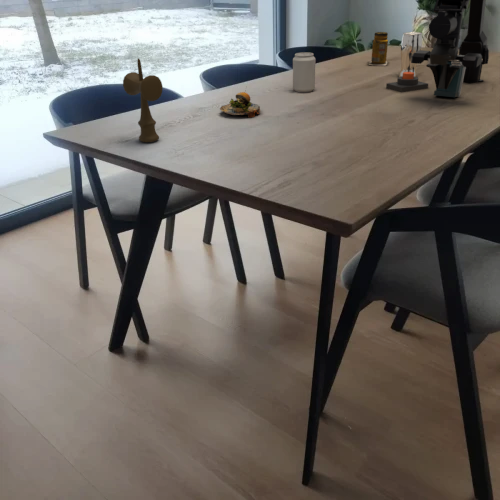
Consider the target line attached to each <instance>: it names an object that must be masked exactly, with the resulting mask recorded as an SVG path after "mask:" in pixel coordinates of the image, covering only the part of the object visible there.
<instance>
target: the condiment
mask: <svg viewBox="0 0 500 500" xmlns="http://www.w3.org/2000/svg"><path fill="white" fill-rule="evenodd" d="M388 45H389V40H388V32H386V31H375V32H374V36H373V40H372V49H371V60H370V61H369V62H368V66H387V65H388V61H387V56H388Z"/></svg>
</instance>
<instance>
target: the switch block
mask: <svg viewBox="0 0 500 500" xmlns="http://www.w3.org/2000/svg"><path fill="white" fill-rule="evenodd" d="M402 77H403V76H401V77H399V76H397V80H396V81H394V82H393V81H392V82H387V83H386V86H385V89H386V90H391V91H395V92H399V93H408V92H414V91H420V90H426V89H429V83H427V82H425V81H419V77H417V76H416V77H414V79H402Z"/></svg>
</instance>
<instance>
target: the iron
mask: <svg viewBox="0 0 500 500" xmlns="http://www.w3.org/2000/svg"><path fill="white" fill-rule="evenodd" d="M457 56H465V55H459V54H458V55H457ZM451 65H452V64H451V62H448V63H447V64H446V65H442V67H441V73H440V79H439V84H438V89H437V88H436V87H435V89H434V92H433V96H435V97H448V98H460V97H461V93H462V88H463V85H464V82H463V79H464V74H465V69H466V67H464V66H463V67H461V68H460V69H458V70H457V72H456V73H455V75H454V77H453V79H452V81H451V83H450V85H449V87H448V88H447V89H445V85H446V80H447V76H448V67H449V66H451Z"/></svg>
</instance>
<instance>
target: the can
mask: <svg viewBox="0 0 500 500" xmlns="http://www.w3.org/2000/svg"><path fill="white" fill-rule="evenodd" d="M315 88H316V57H315V56H314V53H313V52H296V53H295V54H294V57H293V58H292V89H293V90H294V92H296V93H311V92H313V90H314V89H315Z"/></svg>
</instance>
